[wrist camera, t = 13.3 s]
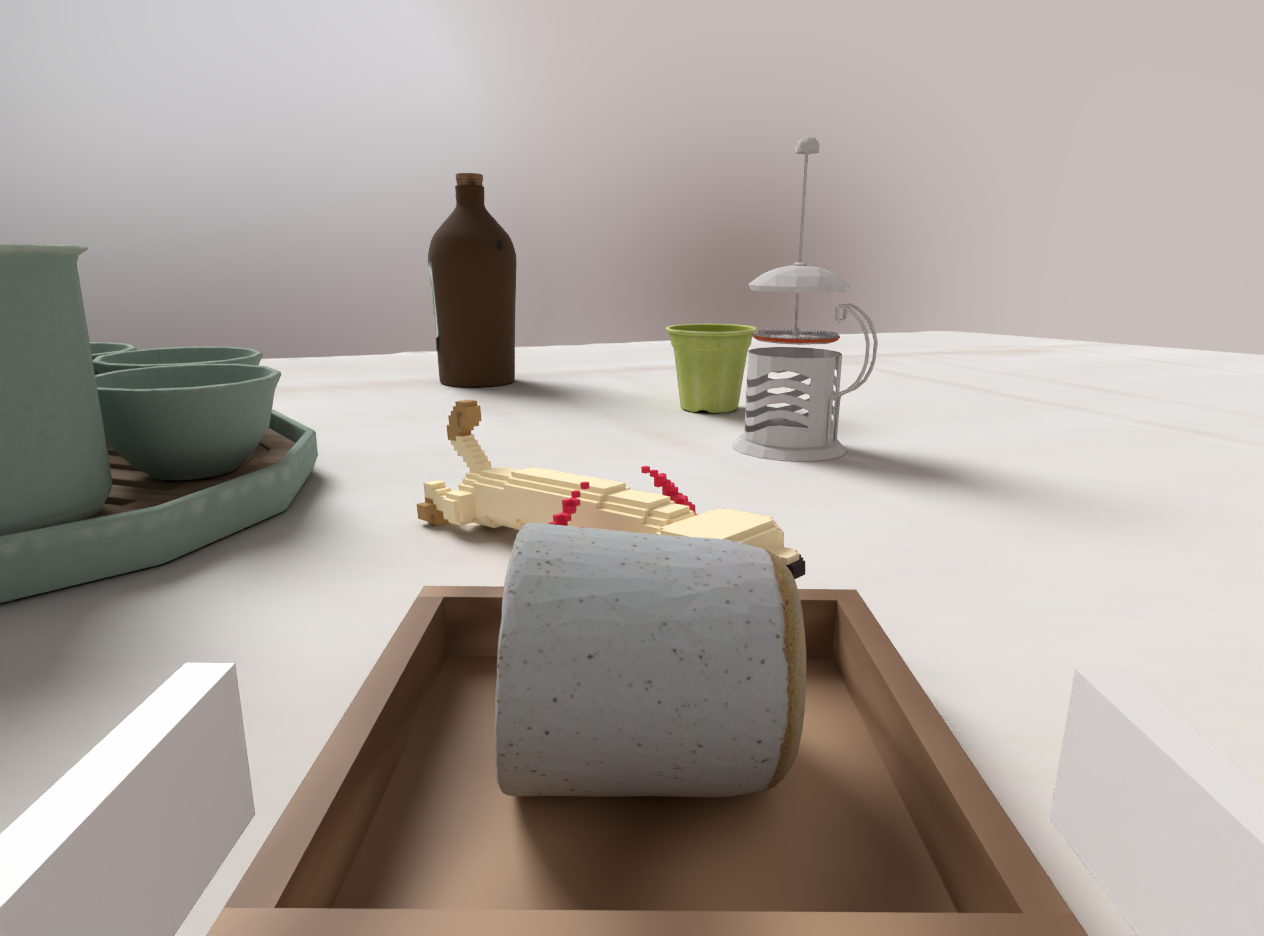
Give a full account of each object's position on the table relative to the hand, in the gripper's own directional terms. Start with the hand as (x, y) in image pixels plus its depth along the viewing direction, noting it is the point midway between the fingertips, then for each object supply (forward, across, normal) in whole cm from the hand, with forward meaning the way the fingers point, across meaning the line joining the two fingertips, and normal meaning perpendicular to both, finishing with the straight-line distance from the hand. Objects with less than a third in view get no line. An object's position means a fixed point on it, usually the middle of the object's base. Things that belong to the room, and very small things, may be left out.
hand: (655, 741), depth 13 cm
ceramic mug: (+11, 0, -8) cm, 14 cm away
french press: (+56, +14, -9) cm, 58 cm away
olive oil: (+91, -20, -9) cm, 93 cm away
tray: (+10, 0, -9) cm, 13 cm away
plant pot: (+74, +8, -9) cm, 75 cm away
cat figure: (+28, -2, -9) cm, 30 cm away
